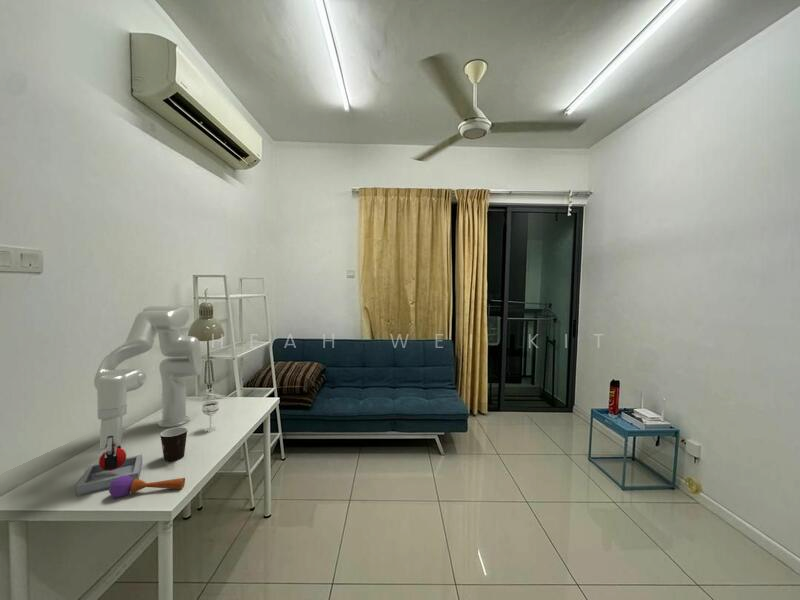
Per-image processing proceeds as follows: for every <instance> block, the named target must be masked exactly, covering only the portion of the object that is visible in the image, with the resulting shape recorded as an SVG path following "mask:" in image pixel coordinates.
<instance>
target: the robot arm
mask: <svg viewBox="0 0 800 600" xmlns="http://www.w3.org/2000/svg"><path fill="white" fill-rule="evenodd" d="M189 320H190V311H189V309H188V308H187V307H185V306H181V305H180V306H178V305H173V306H172V305H171V306H170V305H168V306H167V305H160V306H159V305H153V306H152V305H151V306H147V307H145V308H143V310H142V311H141V312H139V313H137V314H136V317H135V319H134V320H133V323H132V326H131V328H130V330H129V333H128V335H127V337H126V340H125V341H124V343H122V344H121V345H119V346H118V347H115V349H113V350H111V351H110V353H108V354H107V355H106V356H105V357H104V358H103V360H102V361H101V363H100V364H99V367H98V369H97V371H96V373H95V376H94V379H93V384H94V387H95V389H96V390H97V392H96V394H97V397H96V399H97V400H96V401H97V402H96V403H97V404H96V405H97V407H96V408H97V419H98V420H100V429H99V430H100V431H99V450H100V451H103V450H104V452H105V458H104V461H105V470H107V469H111V468H116V467H117V455H116V450H117V447H118V448H121V449H122V445H121V442H122V440H123V439H122V438H123V430H124V428H123V427H124V425H123V424H124V423H123V418H124V417H123V416H126V415H127V414H128V405H127V404H128V403H127V400H128V399H127V395H128V394H127V393H128V392H132V391H136V390H138V389H140V388H141V387H142V386H143V385H144V384H145V382H146V379H147V374H146V372H145V371H144V370H141V369H139V368H128V369H127V368H123V369H122V368H120V369H116V368H117V367H118V366H119V365H120V364H122V363H123V362H125V361H127V360H129V359H132V358H134V357H136V356H139V355H142V354H144V353H148V352H149V351H150V350H151V349H152V348H153V345H154V342H155V339H156V337H157V336H158V343H159V349H160V353H161V355H163V356H164V357H167V358H163V360H161V362H160V363H159V373H160V378H161V393H162V394H161V397H162V398H161V404H162V405H161V410H162V411H161V420H159V421H158V423H157V424H158V427H160V428H176V427H179V426H183V425H185V424H186V423H188V422H190V418H191V417H190V416H188V415H187V385H186V382H185V381H184V379H183V378H191V377H193V378H194V377H198V376H199V375H201V373H202V371H203V357H202V351H201V350H202V348H201V343H200V340H199V338H197V337H196V336H192V335H189V336H185V335H184V336H183V335H181V334H182V333H181V330H180V328H182V327H184V326H185V325H186V324H187V323H188V322H189ZM112 445H115V446H113V447H112ZM112 449H114V451H113V450H112Z"/></svg>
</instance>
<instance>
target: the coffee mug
mask: <svg viewBox="0 0 800 600" xmlns="http://www.w3.org/2000/svg"><path fill="white" fill-rule="evenodd" d="M159 435H160V442H161V449H162V455H163V461H164V462H168V463H169V462H170V463H171V462H176V461H178V460H181V459H183V458H184V457H185V451H186V442H187V436H188V427H185V426H180V427H179V426H175V427H170V428H168V429H165V430H163V431H161V432H160V434H159Z"/></svg>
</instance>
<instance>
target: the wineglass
mask: <svg viewBox="0 0 800 600" xmlns="http://www.w3.org/2000/svg"><path fill="white" fill-rule="evenodd" d="M219 404H220V403H219V401H216V400H215V401H214V400H213V401H206V402H203V403H202V405H201V406H202V407H201V411H202V413H203V414H204V415H206V416H208V417H209V427H208V428H204V430H205V431H204V432H206V431H208V432H209V431H210V432H214V431H216V430H217V427H214V426H212V416H213V415H214V414H216V413H217V412H218V411H219V409H220V406H219Z"/></svg>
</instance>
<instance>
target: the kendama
mask: <svg viewBox="0 0 800 600" xmlns="http://www.w3.org/2000/svg"><path fill="white" fill-rule="evenodd" d="M185 483H186V478H185V477H182V478H181V477H180V478H173V479H166V480H160V481H152V482H146V481H144V480H141V479H140V478H139V479H137V478H135V479H134V480H133V479H132V477H130V476H128V475H126V476H120V477H118V478H116V479H115V480H114V481H113V482H112V483H111V485H110V487H109V489H108V492H109V494H110V495H111V496H112V497H114V498H123V497H124V496H127V495H128V494H130V493H131V494H133V493H136V492H138V491H141V490H142V489H145V488H154V489H155V488H156V489H168V490H170V489H171V490H172V489H173V490H183V489H184V486H185Z"/></svg>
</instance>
